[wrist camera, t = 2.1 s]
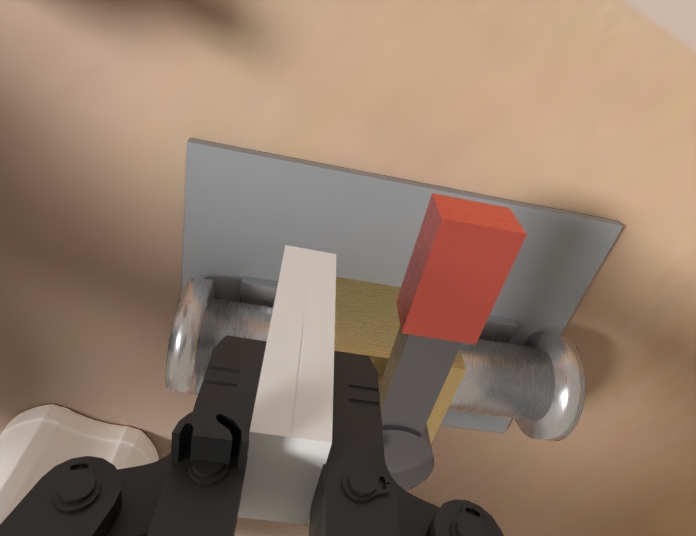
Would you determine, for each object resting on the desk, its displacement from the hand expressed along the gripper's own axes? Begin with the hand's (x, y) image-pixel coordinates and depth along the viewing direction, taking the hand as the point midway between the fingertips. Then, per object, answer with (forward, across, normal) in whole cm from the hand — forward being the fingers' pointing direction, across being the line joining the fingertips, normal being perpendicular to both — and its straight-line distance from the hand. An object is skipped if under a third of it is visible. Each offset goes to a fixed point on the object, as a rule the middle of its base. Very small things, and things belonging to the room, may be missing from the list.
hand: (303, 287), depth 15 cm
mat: (+13, +6, -10) cm, 17 cm away
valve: (+13, +6, -11) cm, 18 cm away
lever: (+4, +6, -6) cm, 9 cm away
